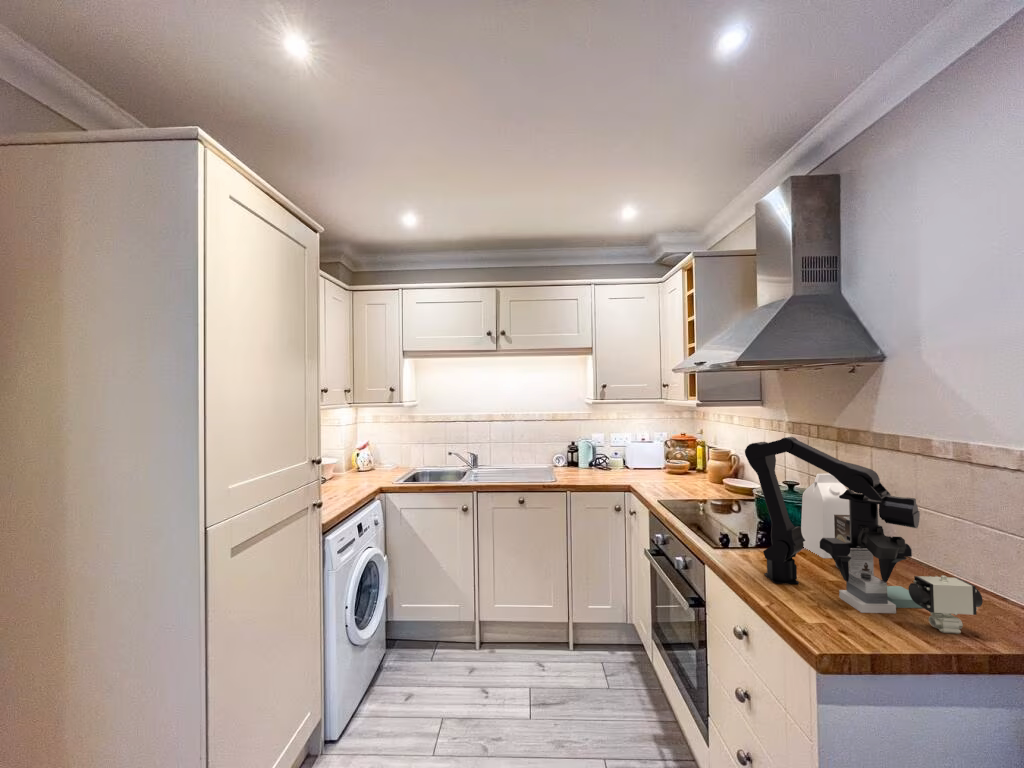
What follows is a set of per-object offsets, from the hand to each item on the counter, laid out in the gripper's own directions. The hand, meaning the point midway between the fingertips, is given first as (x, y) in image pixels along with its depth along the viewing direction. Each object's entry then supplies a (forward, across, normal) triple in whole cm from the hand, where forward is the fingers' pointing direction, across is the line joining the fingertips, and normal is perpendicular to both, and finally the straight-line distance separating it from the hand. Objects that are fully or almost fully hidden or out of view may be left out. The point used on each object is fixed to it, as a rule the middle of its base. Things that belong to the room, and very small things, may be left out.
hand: (865, 581), depth 112 cm
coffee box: (+6, +11, +21) cm, 24 cm away
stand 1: (+6, 0, 0) cm, 6 cm away
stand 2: (+6, +10, +3) cm, 12 cm away
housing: (+4, 0, 0) cm, 4 cm away
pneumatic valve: (+6, +9, -11) cm, 16 cm away
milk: (+6, +15, +39) cm, 42 cm away
